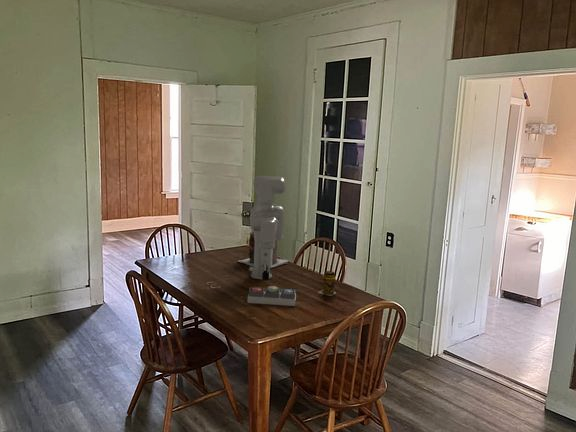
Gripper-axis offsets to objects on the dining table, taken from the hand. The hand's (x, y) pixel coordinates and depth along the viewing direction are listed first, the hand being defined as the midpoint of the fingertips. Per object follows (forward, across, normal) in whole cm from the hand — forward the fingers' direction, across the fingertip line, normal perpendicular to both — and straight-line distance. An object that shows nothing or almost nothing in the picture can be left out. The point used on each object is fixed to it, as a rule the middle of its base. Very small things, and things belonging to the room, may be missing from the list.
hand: (265, 279), depth 242 cm
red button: (+7, 0, +4) cm, 9 cm away
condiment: (+11, +19, -32) cm, 39 cm away
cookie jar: (+11, +69, +9) cm, 71 cm away
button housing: (+11, 0, -4) cm, 12 cm away
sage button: (+6, 0, -4) cm, 7 cm away
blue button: (+7, 0, -12) cm, 14 cm away
